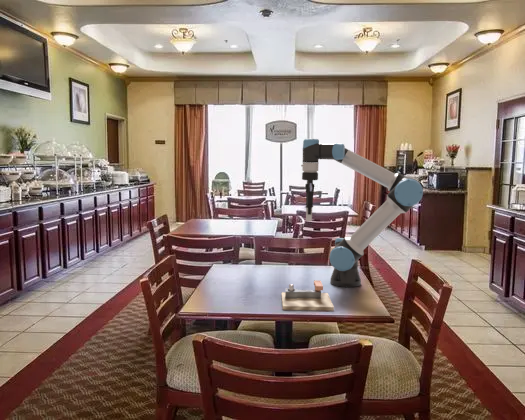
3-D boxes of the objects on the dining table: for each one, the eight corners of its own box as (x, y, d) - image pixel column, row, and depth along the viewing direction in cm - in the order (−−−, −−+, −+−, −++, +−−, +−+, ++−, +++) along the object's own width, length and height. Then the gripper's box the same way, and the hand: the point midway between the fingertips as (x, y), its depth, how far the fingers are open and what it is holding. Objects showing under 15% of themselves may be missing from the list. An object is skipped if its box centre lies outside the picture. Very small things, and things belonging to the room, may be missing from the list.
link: (285, 298, 202) (285, 291, 202) (285, 294, 207) (285, 288, 207) (321, 299, 201) (321, 292, 201) (320, 295, 206) (320, 289, 206)
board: (327, 296, 211) (327, 292, 211) (333, 310, 191) (333, 307, 191) (281, 295, 211) (281, 292, 211) (282, 309, 192) (282, 306, 191)
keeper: (320, 293, 210) (320, 280, 209) (322, 299, 201) (323, 286, 200) (313, 293, 210) (313, 280, 209) (315, 299, 201) (316, 286, 200)
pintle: (296, 295, 207) (296, 283, 206) (296, 298, 202) (297, 286, 201) (285, 295, 207) (285, 283, 206) (285, 298, 202) (286, 286, 201)
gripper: (301, 171, 226) (300, 219, 229) (303, 172, 213) (302, 222, 216) (316, 171, 226) (315, 219, 229) (319, 172, 213) (318, 223, 216)
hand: (308, 220), depth 223 cm, fingers closed
